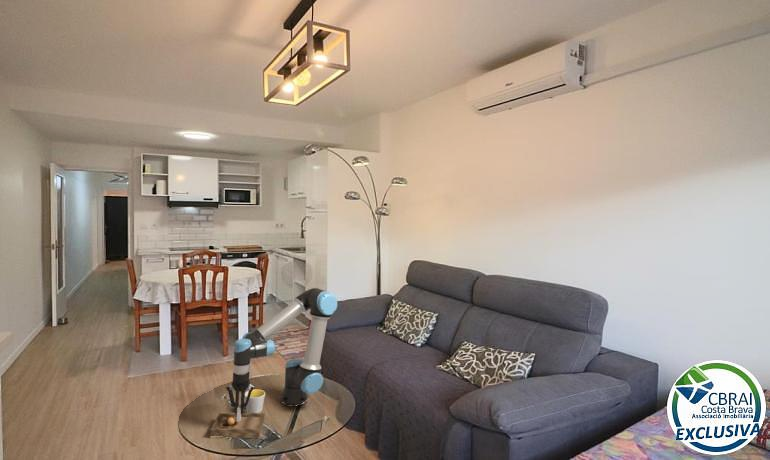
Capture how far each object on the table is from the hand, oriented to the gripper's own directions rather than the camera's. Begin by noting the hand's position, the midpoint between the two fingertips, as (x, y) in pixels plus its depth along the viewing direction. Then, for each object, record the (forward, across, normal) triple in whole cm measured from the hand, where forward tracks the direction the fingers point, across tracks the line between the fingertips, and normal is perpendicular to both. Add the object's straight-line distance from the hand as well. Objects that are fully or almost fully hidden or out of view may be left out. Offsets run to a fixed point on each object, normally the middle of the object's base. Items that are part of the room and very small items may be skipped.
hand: (238, 420), depth 203 cm
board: (+5, 0, 0) cm, 5 cm away
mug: (+5, -5, -18) cm, 19 cm away
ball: (0, +3, 0) cm, 3 cm away
